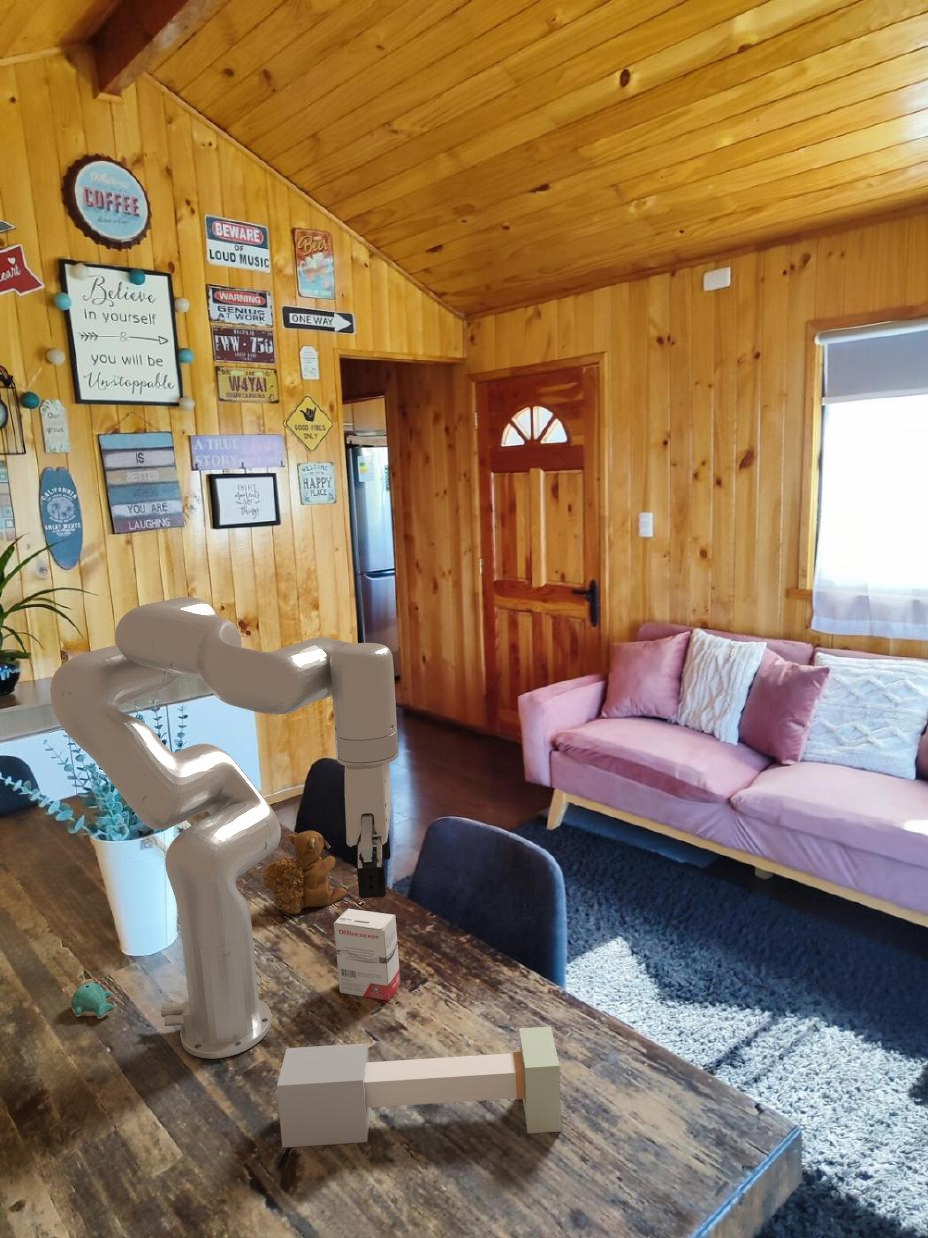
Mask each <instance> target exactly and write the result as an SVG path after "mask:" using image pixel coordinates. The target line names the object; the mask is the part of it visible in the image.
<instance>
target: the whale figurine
mask: <svg viewBox="0 0 928 1238" xmlns="http://www.w3.org/2000/svg"><path fill="white" fill-rule="evenodd" d="M112 996H113V993H112V992H111V991H105V990H104V989H103V987H102V986H101V985H100V984H98V983H95V982H89V983H85V984H83V985H81V986H80V987H78V988H77V989H76V990H75V992H74V993H73V996H72V998H71V1009H72V1012H73V1013H74V1016H75V1017H78V1018H79V1017H81V1016H84V1017H96V1018H97V1019H103V1018H104V1017H105V1016H107V1015H109V1014H111V1013H113V1012H114V1011H115V1010H116V1007H115V1005H114V1004H113V1003H109V1002H108V1003H107V1001H108V1000H110V999H112Z"/></svg>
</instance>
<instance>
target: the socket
mask: <svg viewBox="0 0 928 1238" xmlns="http://www.w3.org/2000/svg"><path fill="white" fill-rule="evenodd" d="M518 1032H519V1034H518V1035H519V1052H521V1053H522V1056H523V1063H524V1069H525V1093H526V1098H525V1099H522V1103H523V1111H524V1117H525V1118H524V1119H525V1125H526V1132H527V1134H538V1133H540V1134H542V1133H555V1132H556V1133H557V1132H558V1133H559V1132H562V1114H561V1112H562V1111H561V1110H562V1109H561V1108H562V1107H561V1078H560V1076H561V1075H560V1073H561V1072H560V1062H559V1056H558V1054H557V1048H556V1044H555V1038H554V1035H553V1034H554V1033H553V1029H552V1026H538V1027H521V1028H519V1029H518Z"/></svg>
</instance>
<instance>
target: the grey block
mask: <svg viewBox="0 0 928 1238" xmlns="http://www.w3.org/2000/svg"><path fill="white" fill-rule="evenodd" d="M366 1062H370V1061H369V1048H368V1043H367V1042H365V1043H352V1044H335V1045H332V1044H331V1045H318V1046H301V1047H299V1046H298V1047H287V1048H286V1049H285V1053H284V1057H283V1060H282V1063H281V1064H282V1065H281V1068H280V1073H279V1076H278V1080H277V1083H276V1093H277V1102H278V1113H279V1124H280V1135H281V1137H280V1138H281V1145H282V1146H281V1147H282V1148H296V1147H297V1148H298V1147H299V1148H300V1147H311V1146H325V1145H326V1146H327V1145H341V1144H343V1145H344V1144H345V1145H346V1144H354V1143H356V1144H357V1143H358V1144H359V1143H368V1139H369V1130H370V1119H371V1110H372V1107H371V1108H366V1102H365V1088H364V1078H365V1069H366Z"/></svg>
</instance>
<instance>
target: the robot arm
mask: <svg viewBox="0 0 928 1238" xmlns="http://www.w3.org/2000/svg"><path fill="white" fill-rule="evenodd" d="M114 634H115V635H114V638H115V643H116V644H115V645H110V646H107V647H105V646H104V647H102V648H98V649H94V650H90V651H88V652H87V651H86V652H84V653H81V654H79V655H77V656H74V657H72V658H70V659H69V660H67V661H65V662H64V663H63V664H61V665H60V666H59V667H58V668H57V670H56V671H55V672H54V674H53V677H51V678H52V679H51V682H50V688H49V690H50V692H49V694H50V701H51V706H52V709H53V712H54V714H55V718H56V719H57V721H58V724H59V725H60V726H61V728H62V729H63V730H64V732H65V733H66V735H67V736H69V738H70V739H71V740H72V741H74V743H75V744H77V746H78V747H80V749H82V750H83V751H84V752H85V753H86V754H87V755H88V756H89V757H90V758H91V759H92V760H93V761H95V763H96V764H97V765H98V766H99V767H100V769H101V770H102V771H103V774H105V775H106V778H107V779H108V780H109V781H110V783H111V784H112V785H113V787H114V788H115V789H116V790H117V792H118V793H119V794H120V795H121V797H122V798H123V799H124V800H125V802H126V803H127V805H128V806H129V807H130V808H131V810H132V811H133V812H134V813H135V815H136V816H137V817H138V819H139V820H140V821H141V822H142V823H143V824H144V825H145V826H147V827H148V828H149V829H152V830H156V831H163V830H168V829H170V828H172V827H175V826H177V825H180V824H181V823H184V822H186V821H188V820H189V819H191V818H193V817H195V816H197V815H198V814H200V813H202V812H204V811H206V813H208V814H209V815H208V816H206V817H204V818H203V819H201V820H198V821H197V822H195V823H193V824H192V825H190V826H188V827H186V828H185V829H184V830H183V831H182V832H180V833H178V835H176V836H175V838H174V839H172V841H171V842H170V844H169V846H168V848H167V850H166V853H165V856H164V857H165V858H164V859H165V860H164V866H165V872H166V874H167V878H168V881H169V884H170V887H171V889H172V892H173V896H174V899H175V903H176V909H177V914H178V915H177V916H178V920H179V928H180V929H179V930H180V938H181V943H182V945H181V946H182V951H183V961H184V962H183V963H184V971H185V981H186V988H187V990H186V991H187V997H188V999H184V1001H183V1002H163V1003H162V1005H161V1009H160V1015H161V1018H164V1020H163V1021H164V1027H175V1026H180V1027H181V1030H180V1043H181V1046H182V1047H183V1049H184V1051H186V1052H187V1053H188V1054H189V1055H192V1056H194V1057H198V1058H200V1059H201V1058H202V1059H209V1060H210V1059H211V1060H212V1059H223V1058H228V1057H232V1056H235V1055H238V1054H240V1053H243V1052H245V1051H248V1050H249V1049H251V1048H253V1047H254V1046H255V1045H257V1044H258V1043H260V1041H261V1040H263V1038H265V1037H266V1035H267V1033H268V1032H269V1031H270V1028H271V1026H272V1020H273V1019H272V1012H271V1009H270V1007H269V1005H268V1004H266V1002H264V1001H263V1000H261V999H259V989H258V978H257V977H258V976H257V968H256V967H257V966H256V957H255V955H256V954H255V945H254V935H253V925H252V915H251V909H250V906H249V903H248V901H247V899H246V898H245V897H244V895H243V894H242V893H241V892H240V891H239V890H238V888H237V881H238V879H239V878H240V877H242V876H243V875H245V874H246V873H247V872H248V871H249V870H251V869H252V868H254V867H255V866H257V865H258V864H260V863H261V862H263V861H264V860H265V859H267V858H269V856H271V855H272V854H273V853H274V852H275V851H276V849H277V848H278V847H279V843H280V841H281V838H282V837H281V836H282V835H281V834H282V829H281V825H280V821H279V819H278V817H277V814H276V813H275V811H274V809H273V807H272V806H271V805H270V804H269V802H268V801H267V800H266V798H265V797H264V796H263V795H262V793H261V792H260V791H259V789H258V788H257V786H255V785H254V783H253V782H252V780H250V778H249V777H248V776H247V775H246V773H245V772H244V771H243V769H242V768H241V766H240V765H239V764H238V762H236V761H235V759H233V757H232V756H231V755H230V754H229V753H228V752H227V751H225V750H224V749H222V748H221V747H219V746H216V745H214V744H209V743H199V744H194V745H190V746H188V747H185V748H184V749H181V750H178V751H176V752H175V751H172V750H170V749H169V747H167V746H166V745H165V744H164V742H162V740H161V739H160V738H159V736H158V735H157V734H156V732H155V731H154V730H153V729H152V728H151V727H150V726H149V725H147V724H146V722H145V723H144V722H143V721H142V720H140V719H138V718H137V717H135V716H133V715H130V714H128V713H125V712H124V711H121V709H119V707H118V706H121V705H124V704H127V703H130V702H133V701H136V700H139V699H141V698H146V697H148V696H152V695H154V694H157V693H159V692H163V690H166V689H168V688H169V687H170V686H171V685H173V684H174V683H175V682H176V681H177V680H179V679H180V678H181V677H182V676H184V677H188V678H193V679H196V680H200V681H203V683H204V685H205V687H207V688H208V691H210V692H211V693H212V694H213V695H214V696H215V697H217V698H218V699H219V700H220V701H221V702H223V703H225V704H227V705H229V706H233V707H235V708H240V709H244V710H248V711H252V712H255V713H259V714H265V715H274V716H276V715H277V716H278V715H286V714H291V713H293V712H296V711H298V710H300V709H303V708H305V707H306V706H309V705H311V704H313V703H315V702H318V701H321V700H325V699H328V698H331V700H332V710H333V712H332V713H333V723H334V724H333V726H334V727H333V728H334V739H335V743H334V744H335V754H336V761H337V762H338V764H339V765H342V766H344V808H345V809H344V810H345V829H346V831H345V832H346V836H345V838H346V845H347V846H348V847H350V848H352V847H353V846H357V865H356V873H357V888H358V897H359V898H360V899H371V898H372V899H373V898H384V897H386V896H387V884H386V870H385V869H386V868H385V867H386V866H385V863H383V861H387V860H390V859H391V841H390V825H391V811H392V810H391V809H392V788H391V787H392V785H391V768H390V767H391V766H390V763H391V762H393V761H396V759H398V757H399V754H400V753H399V740H398V739H399V737H398V735H399V734H398V725H397V722H398V721H397V705H396V702H397V701H396V687H395V669H394V659H393V657H394V656H393V653H392V651H391V649H389V647H388V646H386V645H384V644H381V643H377V642H375V643H374V642H358V643H352V642H348V641H344V640H339V639H336V638H332V637H323V636H322V637H314V638H310V639H307V640H303V641H301V642H298V643H294V644H290V645H288V646H285V647H281V648H279V649H276V650H274V651H262V650H256V649H252V648H245V647H242V646H243V642H242V636H241V633H240V631H239V628H238V627H237V625H236V624H235V623H233V622H232V621H231V620H230V619H227V618H223V617H219V616H218V615H217V612H216V611H215V609H214V608H213V607H212V606H211V605H210V604H209V603H207V602H206V601H205V600H203V599H200V598H198V597H193V596H180V597H177V598H176V597H175V598H170V599H166V600H161V601H157V602H156V601H155V602H150V603H145V604H141V605H139V606H136V607H134V608H132V609H130V610H129V611H128V612H126V613H125V614H124V615H123V616H122V617H121V618H120V620H118V623H117V625H116V628H115V633H114Z"/></svg>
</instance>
